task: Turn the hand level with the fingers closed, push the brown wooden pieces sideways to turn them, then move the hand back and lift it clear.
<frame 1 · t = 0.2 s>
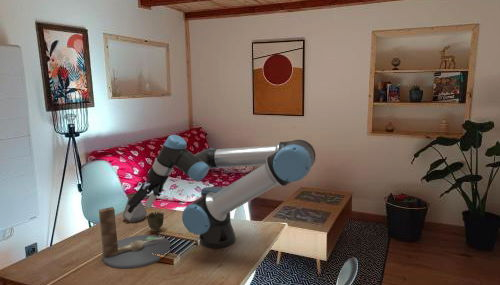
hand: (137, 211, 144), 15 cm above the table, tool tilted 35°, fingers open, 13 cm apart
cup: (156, 231, 162), on the table
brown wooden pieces: (137, 252, 142), resting on dial plate, hinge at 0.0°
dial plate: (137, 252, 142), on the table
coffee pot: (145, 219, 178), on the table
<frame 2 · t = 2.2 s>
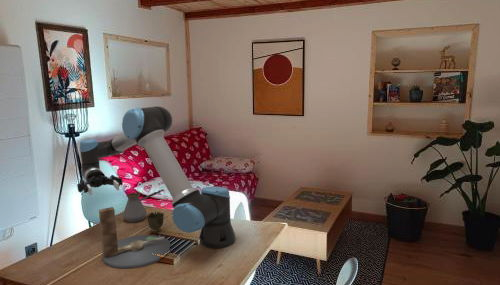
hand: (104, 189, 139), 26 cm above the table, tool horizontal, fingers open, 9 cm apart
nothing on the table moved.
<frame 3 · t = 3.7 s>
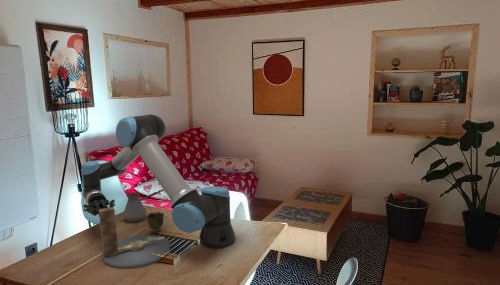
hand: (106, 216, 140), 15 cm above the table, tool horizontal, fingers closed
nothing on the table moved.
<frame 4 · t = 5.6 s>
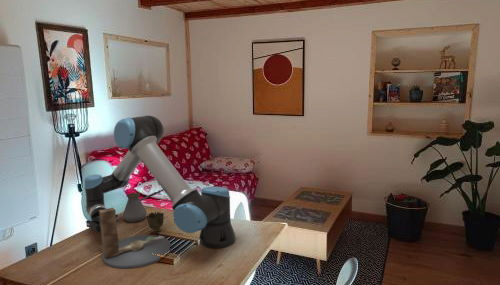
hand: (110, 233, 136), 10 cm above the table, tool horizontal, fingers closed
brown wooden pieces: (137, 252, 142), resting on dial plate, hinge at 5.7°, touching gripper
everything else where it was.
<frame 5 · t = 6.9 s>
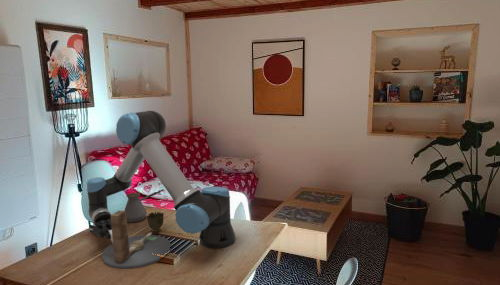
hand: (114, 239, 131), 10 cm above the table, tool horizontal, fingers closed
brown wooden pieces: (137, 252, 142), resting on dial plate, hinge at 43.7°, touching gripper
everything else where it was.
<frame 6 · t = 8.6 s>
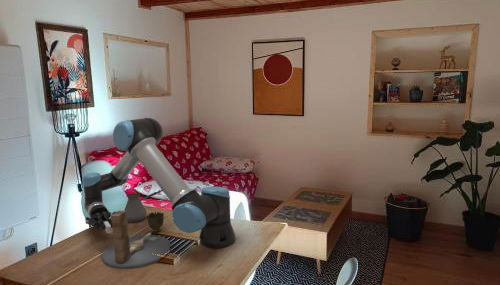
hand: (109, 229, 139), 10 cm above the table, tool horizontal, fingers closed
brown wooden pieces: (137, 252, 142), resting on dial plate, hinge at 45.2°
everything else where it was.
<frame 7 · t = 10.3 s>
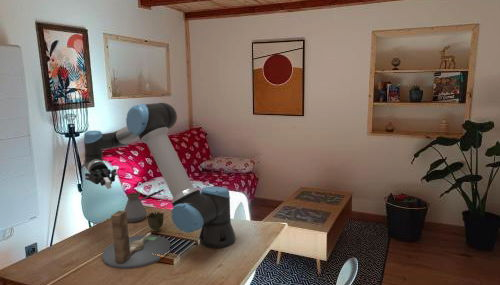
hand: (109, 185, 139), 28 cm above the table, tool horizontal, fingers closed
nothing on the table moved.
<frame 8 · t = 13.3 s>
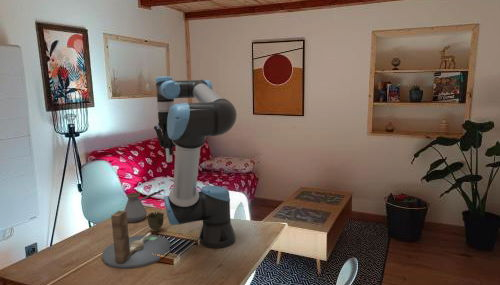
hand: (169, 161, 166), 30 cm above the table, tool pointing down, fingers closed
nothing on the table moved.
at the end: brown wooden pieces at +45° (first picture: +0°); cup moved 0.2 cm from its start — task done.
